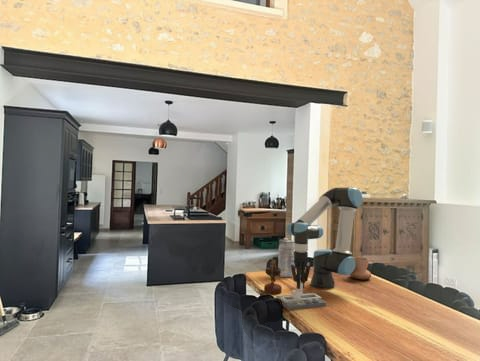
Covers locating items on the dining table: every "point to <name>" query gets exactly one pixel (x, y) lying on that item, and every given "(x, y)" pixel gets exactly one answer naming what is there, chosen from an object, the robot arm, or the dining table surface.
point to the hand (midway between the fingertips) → (300, 294)
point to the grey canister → (285, 257)
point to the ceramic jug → (361, 268)
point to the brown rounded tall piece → (273, 279)
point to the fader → (296, 294)
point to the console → (302, 301)
